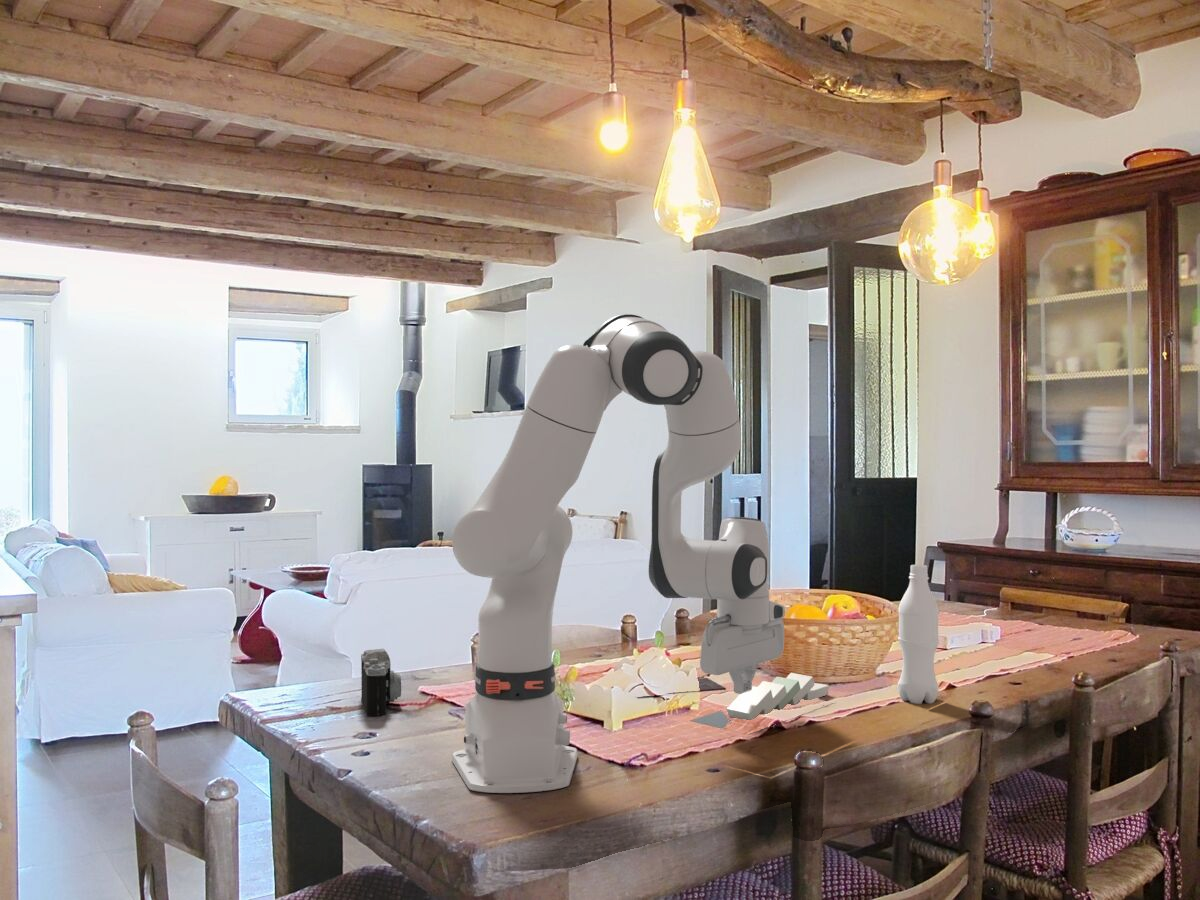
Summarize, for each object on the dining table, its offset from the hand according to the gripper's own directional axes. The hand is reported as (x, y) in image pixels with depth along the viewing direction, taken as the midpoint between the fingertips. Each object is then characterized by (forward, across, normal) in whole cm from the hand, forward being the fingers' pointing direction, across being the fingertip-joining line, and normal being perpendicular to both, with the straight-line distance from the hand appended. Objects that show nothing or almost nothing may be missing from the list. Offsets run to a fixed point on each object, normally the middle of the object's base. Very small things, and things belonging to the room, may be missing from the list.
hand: (742, 692), depth 178 cm
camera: (+5, -36, +53) cm, 65 cm away
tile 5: (+4, +17, 0) cm, 18 cm away
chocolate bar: (+6, +10, +23) cm, 25 cm away
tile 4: (+4, +12, 0) cm, 13 cm away
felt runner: (+5, +7, 0) cm, 9 cm away
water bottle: (+5, +33, -16) cm, 37 cm away
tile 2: (+4, +3, 0) cm, 5 cm away
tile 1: (+4, -1, 0) cm, 4 cm away
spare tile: (+4, +8, 0) cm, 9 cm away
